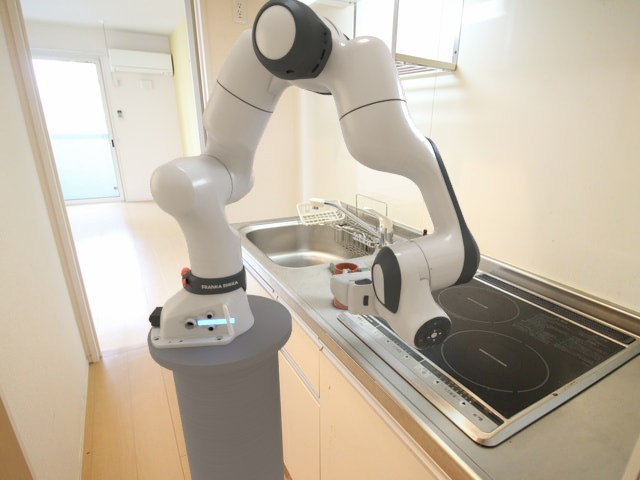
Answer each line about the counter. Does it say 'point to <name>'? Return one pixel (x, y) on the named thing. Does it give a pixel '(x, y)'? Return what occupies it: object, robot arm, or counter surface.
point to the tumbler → (339, 270)
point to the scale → (357, 261)
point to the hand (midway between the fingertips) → (364, 269)
